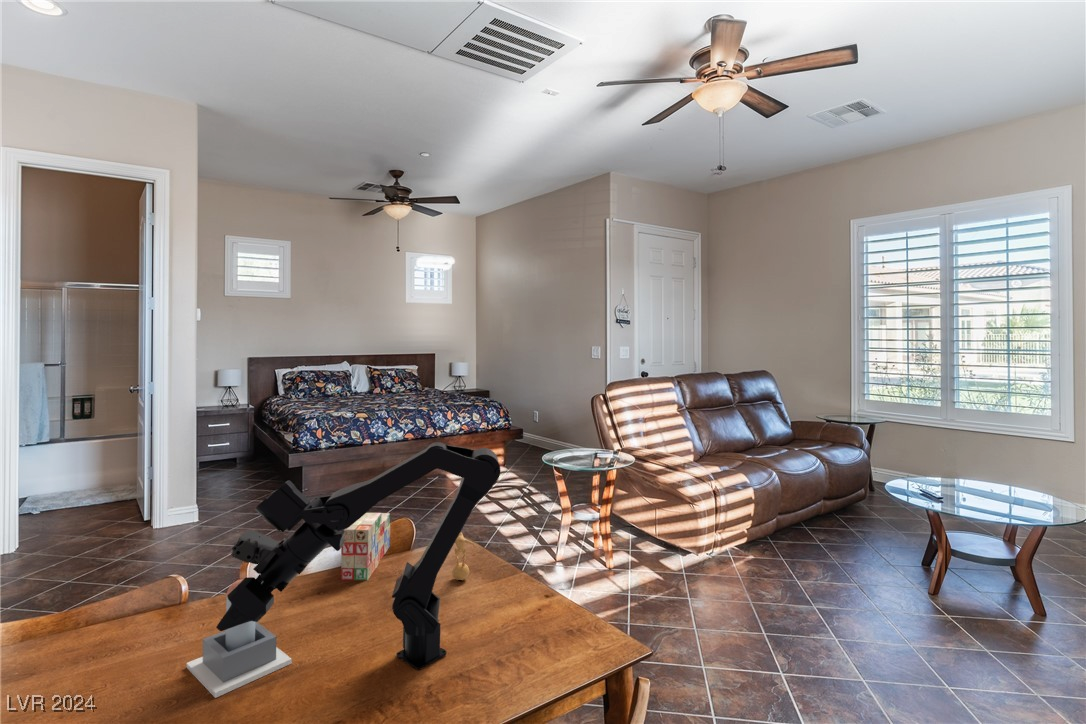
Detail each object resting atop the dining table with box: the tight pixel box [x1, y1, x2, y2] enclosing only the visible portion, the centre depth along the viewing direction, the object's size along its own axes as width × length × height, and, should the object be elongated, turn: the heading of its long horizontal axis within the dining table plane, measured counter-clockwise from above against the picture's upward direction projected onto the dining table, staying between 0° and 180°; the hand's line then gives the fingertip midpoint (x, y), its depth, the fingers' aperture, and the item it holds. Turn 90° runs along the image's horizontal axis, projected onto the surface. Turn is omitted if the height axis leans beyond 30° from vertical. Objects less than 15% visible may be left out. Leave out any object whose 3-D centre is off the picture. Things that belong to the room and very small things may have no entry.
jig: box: [186, 621, 293, 699], centre depth 92 cm, size 12×12×5 cm
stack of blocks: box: [340, 512, 391, 581], centre depth 136 cm, size 21×6×12 cm, turn 2°
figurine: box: [451, 532, 479, 581], centre depth 126 cm, size 8×6×12 cm
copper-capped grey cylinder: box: [225, 578, 255, 652], centre depth 92 cm, size 4×4×14 cm
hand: (231, 614), depth 92 cm, fingers open, 9 cm apart
